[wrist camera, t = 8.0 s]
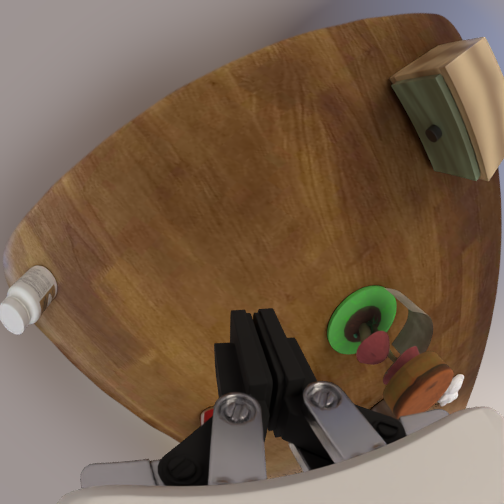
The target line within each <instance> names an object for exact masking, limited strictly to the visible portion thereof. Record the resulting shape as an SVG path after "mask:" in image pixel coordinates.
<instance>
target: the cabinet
mask: <svg viewBox="0 0 504 504" xmlns="http://www.w3.org/2000/svg"><path fill="white" fill-rule="evenodd" d="M436 74H441V75H442V76H443V77H444V79H445V81H446V83H447V85H448V87H449V89H450V91H451V93H452V95H453V98H454V100H455V102H456V104H457V107H458V109H459V111H460V114H461V116H462V118H463V121H464V123H465V126H466V129H467V131H468V134H469V137H470V140H471V143H472V145H473V148H474V152H475V155H476V158H477V164H478V167H479V171H480V174H481V175H480V177H479V178H478V179H483V180H486V181H489V180H490V178H491V177H492V175H493V174H494V172H495V171H496V169H497V168H498V166H499V165H500V163H501V162H502V160H503V159H504V77H503V75H502V72H501V70H500V67H499V65H498V63H497V60H496V58H495V56H494V54H493V52H492V50H491V48H490V46H489V44H488V42H487V40H486V38H485V37H481V38H474V39H468V40H463V41H457V42H453V43H448V44H443V45H439V46H437V47H435V48H433V49H432V50H430V51H429V52H427V53H426V54H424V55H422V56H421V57H419V58H418V59H416V60H415V61H413V62H412V63H410V64H409V65H407V66H406V67H404V68H403V69H401V70H400V71H398V72H397V73H395V74H394V75H392V76H391V77H390V78H389V79H390V80H391V82H392V84H394V83H395V82H397V81H401V80H406V79H412V78H417V77H423V76H429V75H436Z"/></svg>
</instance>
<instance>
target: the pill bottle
mask: <svg viewBox="0 0 504 504" xmlns="http://www.w3.org/2000/svg"><path fill="white" fill-rule="evenodd" d="M56 293H57V284H56V280H55V278H54V276H53V275H52V273H51V272H50V271H49V270H48V269H46V268H45V267H43V266H39V265H36V266H33V267H31V268H30V269H29V270H28V271H27V272H26V273H25V274H24V275H23V276H22V277H21V278H20V279H18V280H17V281H16V282H15V283H14V284H13V285H12V286H11V287H10V288H9V290H8V293H7V298H6V299H5V300H4V301H3V302H2V303H1V304H0V320H1V322H2V323H3V325H4V326H5V327H6V328H7V329H8V330H9V331H10V332H12V333H14V334H21V333H23V332H24V330H25V329H26V328H27V326H28V325H29V324H33V323H35V322H36V321H37V320H38V319H39V318H40V316H41V315H42V313H43V312H44V311H45V309H46V308H47V306H48V305H49V304H50V303H51V301H52V300H53V299H54V297H55V296H56Z"/></svg>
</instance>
